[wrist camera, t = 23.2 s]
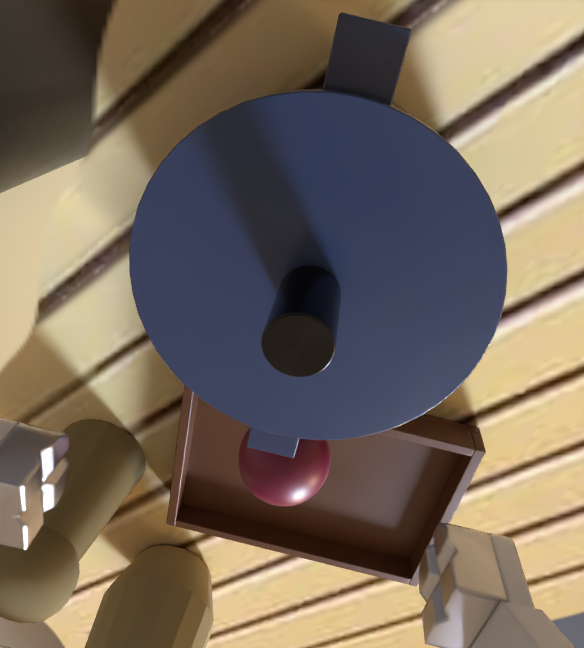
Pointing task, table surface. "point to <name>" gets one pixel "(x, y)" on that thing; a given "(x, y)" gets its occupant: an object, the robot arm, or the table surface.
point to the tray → (329, 492)
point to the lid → (318, 265)
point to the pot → (363, 79)
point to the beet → (285, 472)
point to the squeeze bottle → (157, 603)
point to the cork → (70, 521)
